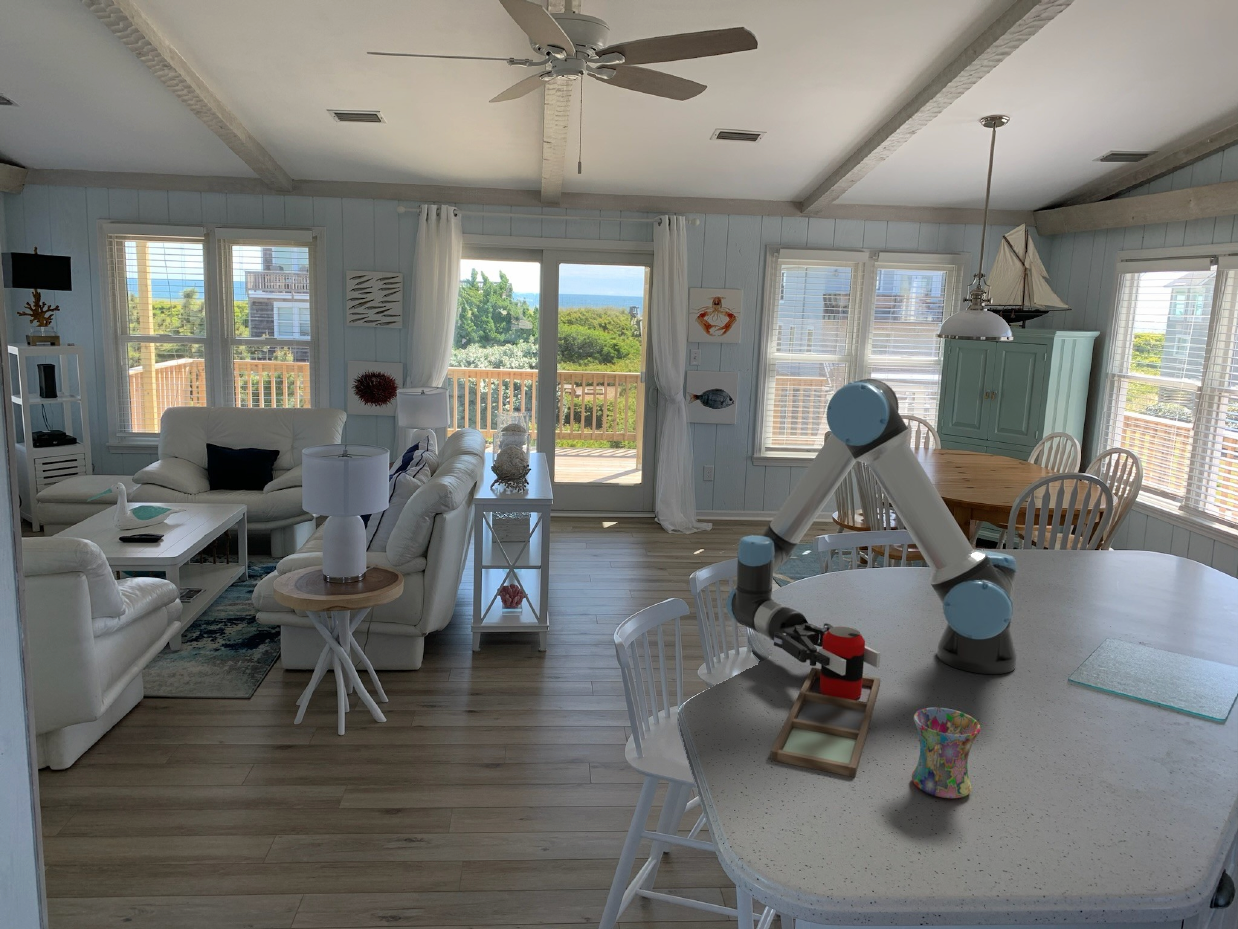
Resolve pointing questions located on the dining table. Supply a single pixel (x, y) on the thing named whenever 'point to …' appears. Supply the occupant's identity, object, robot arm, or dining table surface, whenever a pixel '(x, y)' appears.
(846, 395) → the robot arm
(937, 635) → the dining table surface
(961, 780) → the mug
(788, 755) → the frame
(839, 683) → the soda can
